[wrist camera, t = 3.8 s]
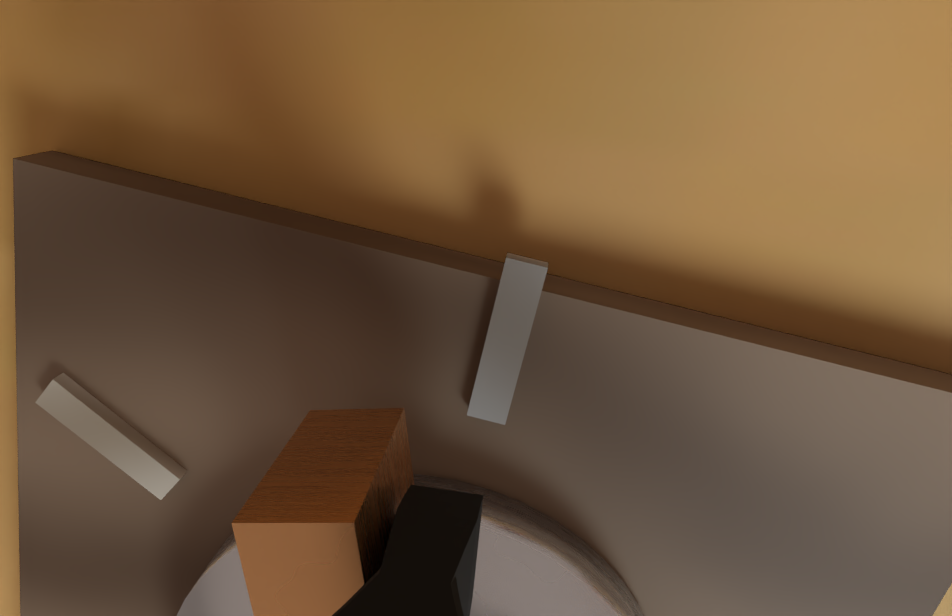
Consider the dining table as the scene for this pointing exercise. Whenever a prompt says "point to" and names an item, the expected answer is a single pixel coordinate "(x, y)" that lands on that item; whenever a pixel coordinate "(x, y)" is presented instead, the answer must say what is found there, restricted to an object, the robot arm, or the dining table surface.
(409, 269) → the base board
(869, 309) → the dining table surface
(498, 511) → the dial
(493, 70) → the dining table surface
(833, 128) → the dining table surface
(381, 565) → the robot arm
